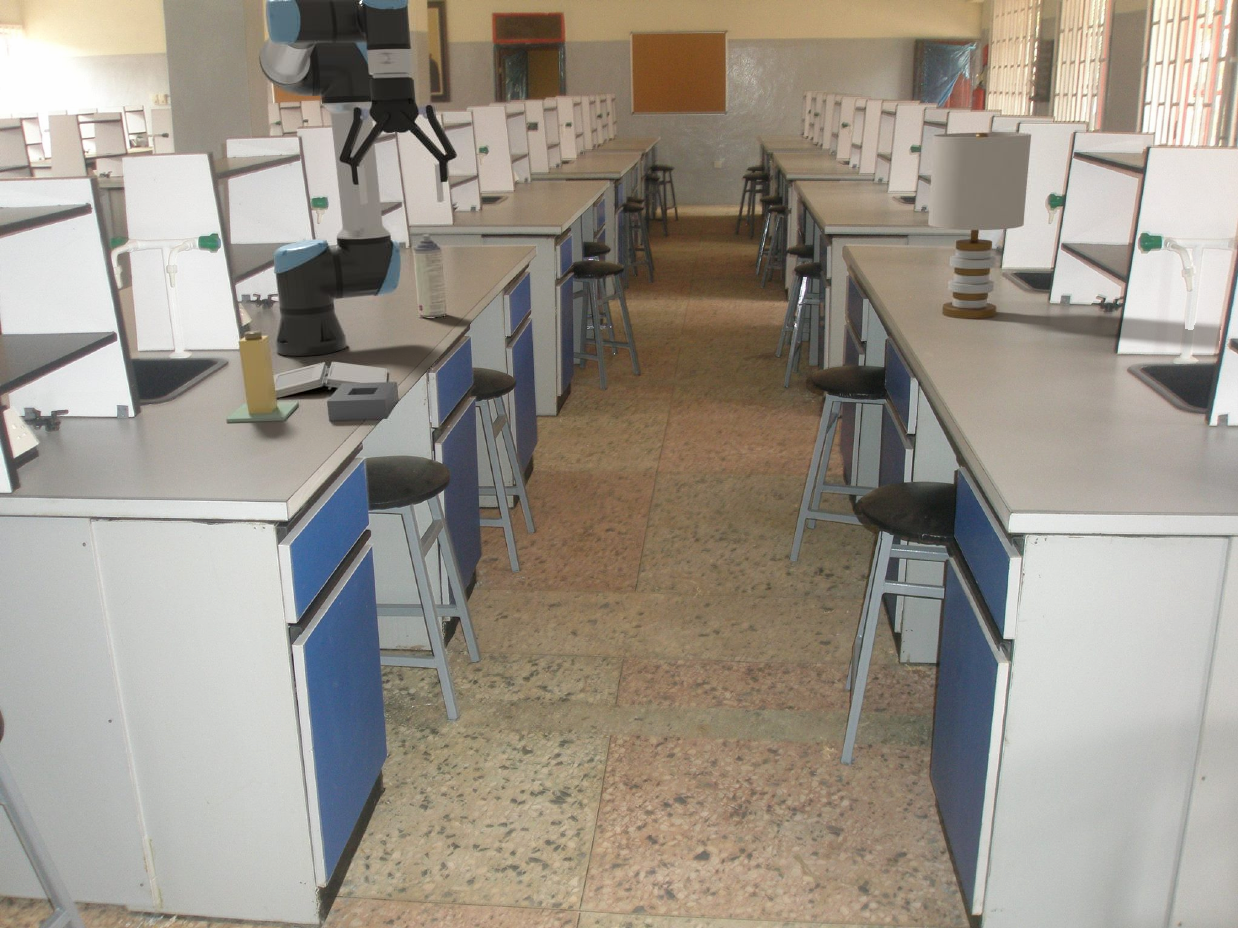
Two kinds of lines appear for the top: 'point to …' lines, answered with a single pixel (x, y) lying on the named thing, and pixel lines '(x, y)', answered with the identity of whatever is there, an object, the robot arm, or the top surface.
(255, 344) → the plug
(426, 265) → the aerosol can
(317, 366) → the gadget
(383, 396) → the grey block with hole
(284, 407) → the mat
